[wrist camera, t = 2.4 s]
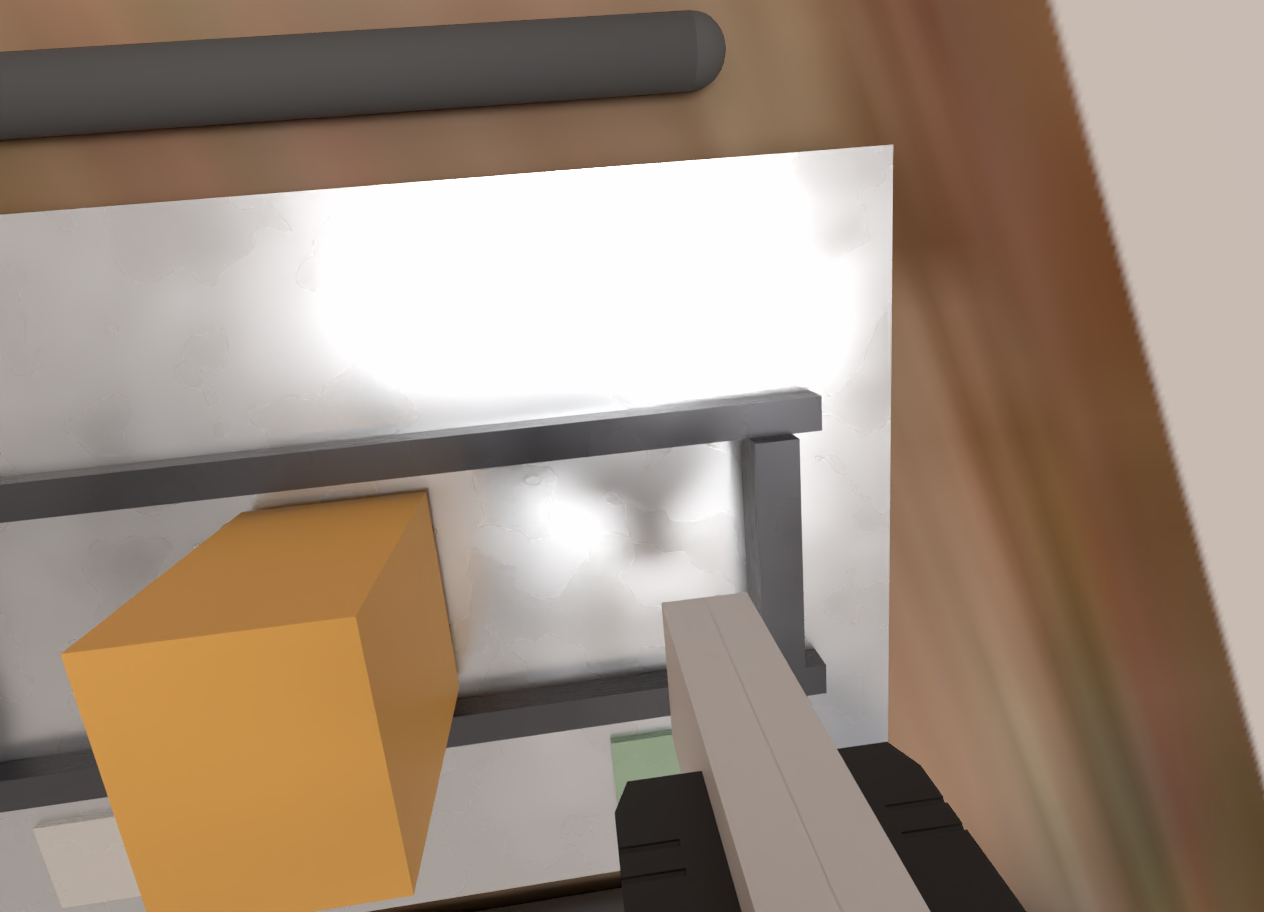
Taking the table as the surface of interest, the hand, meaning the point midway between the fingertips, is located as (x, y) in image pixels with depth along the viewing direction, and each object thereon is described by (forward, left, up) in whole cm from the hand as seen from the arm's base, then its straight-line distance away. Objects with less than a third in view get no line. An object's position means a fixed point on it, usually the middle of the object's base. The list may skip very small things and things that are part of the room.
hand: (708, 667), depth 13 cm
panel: (-7, 0, -8) cm, 10 cm away
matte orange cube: (-7, 0, -5) cm, 9 cm away
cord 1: (-7, +11, -8) cm, 16 cm away
